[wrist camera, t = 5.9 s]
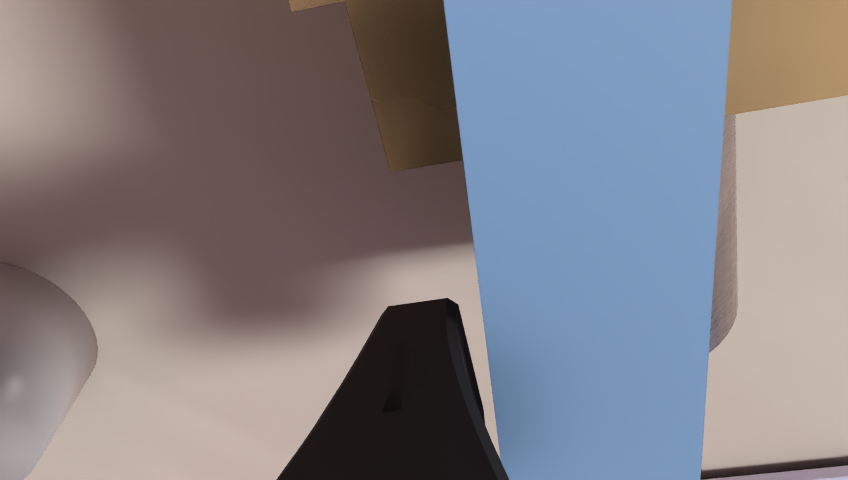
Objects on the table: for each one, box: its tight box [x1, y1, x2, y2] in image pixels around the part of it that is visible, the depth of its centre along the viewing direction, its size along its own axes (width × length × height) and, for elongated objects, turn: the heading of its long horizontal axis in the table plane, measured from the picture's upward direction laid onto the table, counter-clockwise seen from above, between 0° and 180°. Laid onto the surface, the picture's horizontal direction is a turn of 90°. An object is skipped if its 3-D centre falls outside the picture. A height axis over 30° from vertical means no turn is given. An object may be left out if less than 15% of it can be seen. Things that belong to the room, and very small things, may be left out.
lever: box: [443, 0, 732, 480], centre depth 8 cm, size 3×14×2 cm, turn 8°
